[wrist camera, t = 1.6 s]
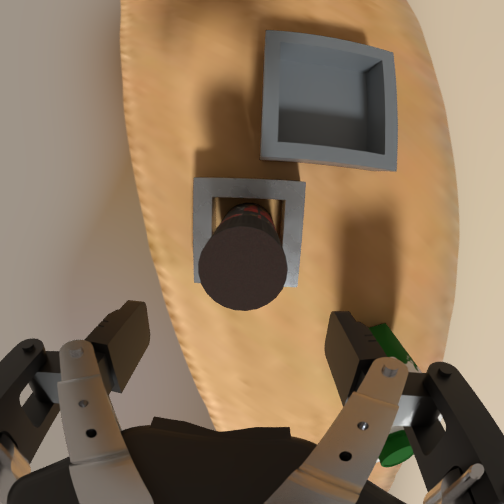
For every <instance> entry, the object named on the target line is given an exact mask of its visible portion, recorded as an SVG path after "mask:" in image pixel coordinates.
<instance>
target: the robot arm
mask: <svg viewBox="0 0 504 504" xmlns="http://www.w3.org/2000/svg"><path fill="white" fill-rule="evenodd" d="M149 341H150V329H149V323H148V316H147V308H146V304H145V302H141V301H131V300H128V301H127V302H126V303H125V304H124V305H123V306H122V307H121V308H120V309H119V310H116V311H114V312H112V313H110V314H108V315H107V316H106V317H105V318H104V319H103V321H102V322H101V323H100V324H99V325H98V326H97V327H96V328H95V329H94V330H93V331H92V332H91V333H90V334H89V335H88V337H87V338H86V339H85V340H73V341H70V342H67V343H66V344H64V345H63V346H62V347H61V348H60V351H45V348H44V345H43V343H42V341H40V340H38V339H27V340H24V341H22V342H20V343H19V344H17V346H16V347H14V348H13V349H12V350H11V351H10V352H9V353H8V354H7V355H6V356H5V358H3V360H1V362H0V504H406V503H404V502H402V501H401V500H399V499H397V498H396V497H394V496H392V495H391V494H389V493H387V492H386V491H384V490H383V489H381V488H380V487H378V486H376V485H375V484H373V483H372V482H370V481H369V480H367V479H368V477H369V475H370V473H371V472H372V470H373V468H374V466H375V464H376V461H377V459H378V457H379V455H380V453H381V451H382V449H383V446H384V444H385V442H386V440H387V437H388V435H389V432H390V430H391V427H392V425H393V426H403V428H404V430H405V433H406V435H407V437H408V440H409V442H410V445H411V448H412V450H413V453H414V455H415V458H416V460H417V463H418V466H419V469H420V471H421V474H422V477H423V480H424V482H425V485H426V488H427V491H428V493H427V494H426V496H425V498H424V501H423V504H504V435H503V433H502V432H501V430H500V429H499V427H498V426H497V424H496V423H495V421H494V419H493V418H492V417H491V415H490V414H489V412H488V411H487V409H486V408H485V406H484V405H483V403H482V402H481V401H480V399H479V398H478V397H477V395H476V394H475V392H474V391H473V390H472V388H471V387H470V386H469V384H468V383H467V381H466V380H465V379H464V378H463V376H462V375H461V374H460V372H459V371H458V370H457V369H456V368H455V367H454V366H452V365H450V364H448V363H445V362H435V363H432V364H431V365H430V366H429V368H428V370H427V372H426V373H416V372H409V371H408V368H407V366H406V365H405V364H404V363H403V362H401V361H400V360H398V359H395V358H391V357H387V355H386V354H385V352H384V350H383V349H382V347H381V346H380V344H379V343H378V341H376V338H375V337H374V336H373V334H372V332H371V331H370V330H369V328H368V327H367V326H365V325H364V324H362V323H361V322H356V321H355V319H354V318H353V316H352V315H351V313H350V312H349V311H332V312H331V315H330V319H329V324H328V330H327V335H326V340H325V356H326V359H327V361H328V364H329V367H330V370H331V373H332V375H333V378H334V381H335V384H336V387H337V390H338V393H339V396H340V399H341V401H342V404H343V409H342V410H341V412H340V413H339V415H338V416H337V418H336V419H335V421H334V422H333V424H332V425H331V427H330V428H329V430H328V431H327V432H326V434H325V435H324V437H323V438H322V439H321V441H320V442H319V443H318V445H317V444H315V443H313V442H310V441H307V440H304V439H301V438H297V437H292V436H291V434H290V427H254V428H247V429H241V430H233V431H225V432H217V431H214V430H210V429H206V428H204V427H200V426H197V425H194V424H191V423H188V422H185V421H178V420H171V419H165V418H160V417H154V418H153V421H152V423H151V425H145V426H137V427H132V428H129V429H125V430H123V431H122V429H121V426H120V424H119V421H118V419H117V416H116V414H115V411H114V408H113V406H112V403H111V400H110V397H109V394H110V392H111V391H114V392H118V393H122V392H123V390H124V388H125V386H126V384H127V383H128V381H129V379H130V377H131V375H132V374H133V372H134V370H135V368H136V367H137V365H138V363H139V361H140V359H141V358H142V356H143V354H144V352H145V350H146V349H147V347H148V345H149ZM28 383H29V385H30V387H31V389H32V391H33V393H32V394H31V395H30V397H29V398H28V399H27V401H26V402H25V404H24V405H23V406H22V407H21V405H20V401H19V397H20V394H21V392H22V391H23V389H24V388H25V387H26V385H27V384H28ZM59 411H61V418H62V423H63V429H64V434H65V439H66V444H67V448H68V452H69V457H67V458H65V459H63V460H61V461H58V462H56V463H54V464H51V465H49V466H46V467H44V468H42V469H39V470H36V471H34V472H31V473H30V471H31V469H30V463H31V461H32V459H33V457H34V455H35V453H36V452H37V450H38V448H39V446H40V444H41V442H42V440H43V439H44V437H45V435H46V433H47V432H48V430H49V428H50V426H51V425H52V423H53V421H54V419H55V418H56V416H57V414H58V413H59ZM440 414H441V415H442V417H443V419H444V421H445V423H446V432H445V430H444V428H443V426H442V425H441V423H440V421H439V419H438V417H439V415H440Z"/></svg>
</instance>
